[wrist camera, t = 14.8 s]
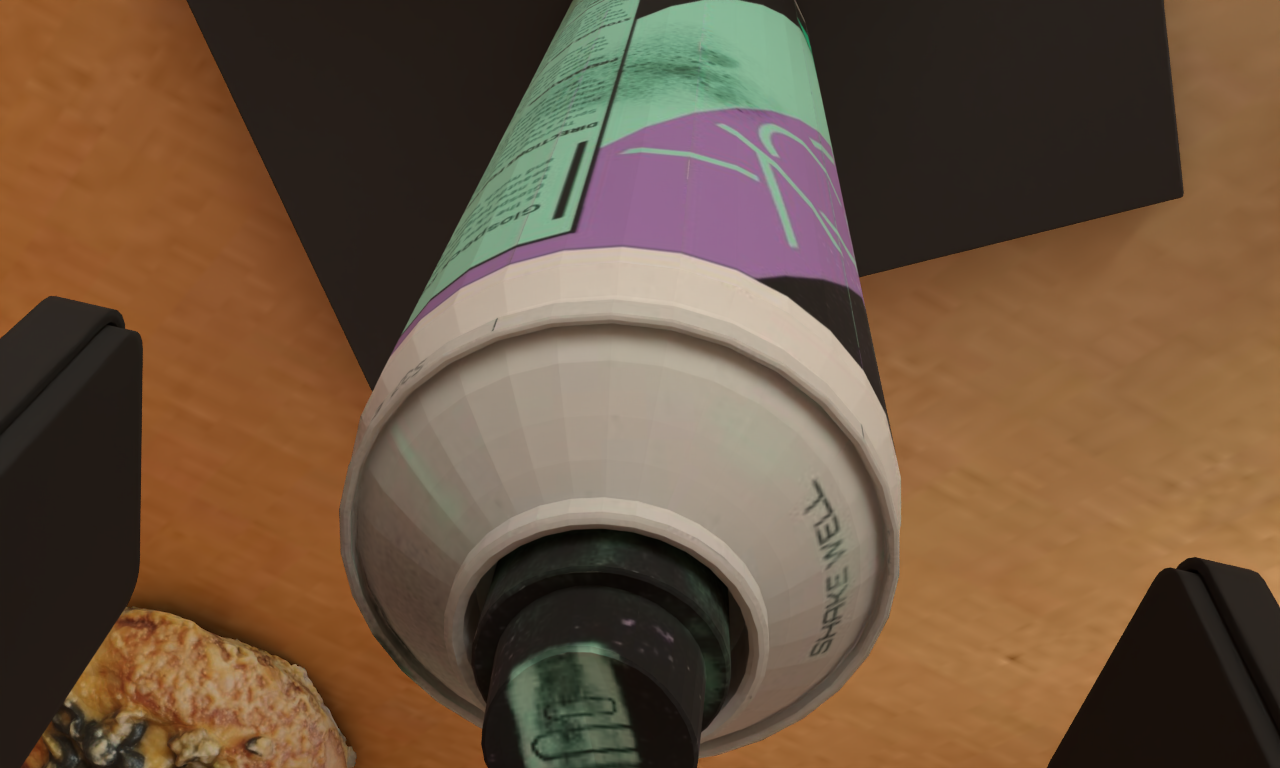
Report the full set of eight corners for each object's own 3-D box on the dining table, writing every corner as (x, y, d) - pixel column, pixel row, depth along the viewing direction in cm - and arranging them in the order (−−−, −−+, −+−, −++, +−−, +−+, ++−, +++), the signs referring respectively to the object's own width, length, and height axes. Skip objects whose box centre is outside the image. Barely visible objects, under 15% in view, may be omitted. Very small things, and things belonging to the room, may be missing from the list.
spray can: (677, 228, 29) (590, 1060, 11) (507, 57, 27) (97, 730, 10) (862, 69, 27) (1102, 793, 9) (690, -128, 25) (589, 307, 8)
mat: (165, -79, 27) (150, -73, 26) (1109, -406, 23) (1121, -409, 22) (381, 383, 32) (374, 399, 32) (1174, 185, 28) (1185, 197, 28)
